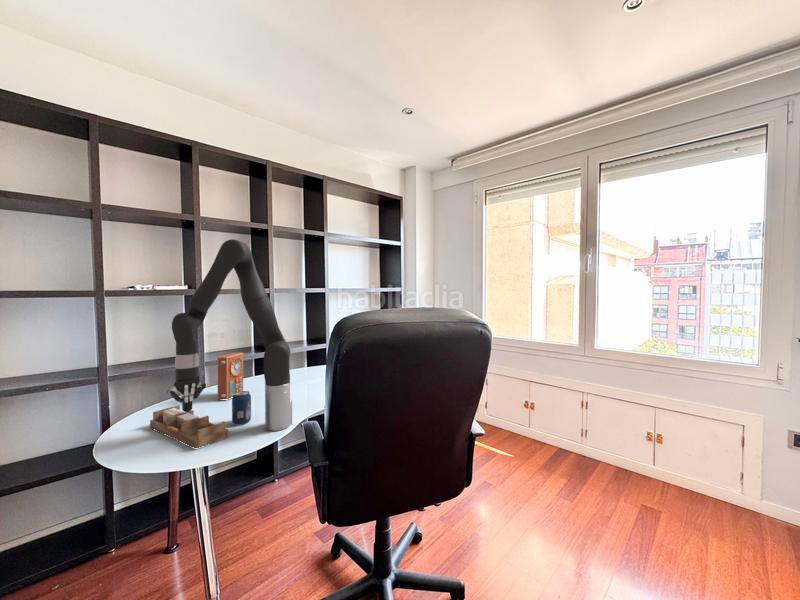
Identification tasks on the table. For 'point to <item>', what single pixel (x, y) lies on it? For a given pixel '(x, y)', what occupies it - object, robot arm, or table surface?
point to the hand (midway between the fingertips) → (187, 411)
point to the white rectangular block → (185, 419)
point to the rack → (188, 427)
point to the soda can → (241, 408)
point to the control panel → (230, 375)
